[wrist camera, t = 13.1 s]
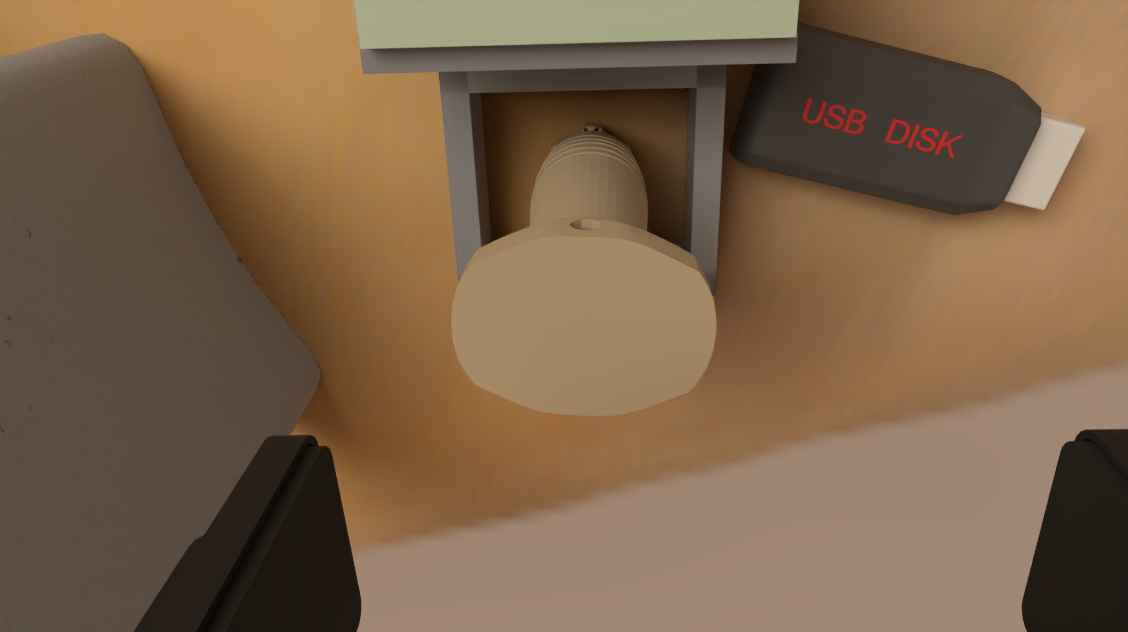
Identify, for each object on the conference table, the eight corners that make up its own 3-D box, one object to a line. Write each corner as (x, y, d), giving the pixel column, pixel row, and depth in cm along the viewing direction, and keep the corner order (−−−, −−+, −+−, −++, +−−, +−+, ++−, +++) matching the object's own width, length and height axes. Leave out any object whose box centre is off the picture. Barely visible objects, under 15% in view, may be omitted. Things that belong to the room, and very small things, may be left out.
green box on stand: (763, -190, 29) (826, -223, 21) (735, 265, 36) (774, 372, 28) (397, -175, 29) (319, -201, 21) (442, 269, 37) (397, 375, 29)
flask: (17, 65, 34) (-1163, 410, 11) (114, 20, 33) (-960, 296, 10) (247, 417, 40) (-195, 1069, 18) (333, 388, 39) (-21, 1036, 17)
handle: (510, 98, 33) (446, 232, 20) (676, 102, 33) (725, 241, 20) (511, 216, 35) (455, 411, 22) (667, 221, 35) (706, 419, 22)
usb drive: (770, 14, 32) (784, 25, 29) (1071, 90, 33) (1109, 107, 30) (727, 148, 34) (736, 168, 32) (1009, 216, 35) (1040, 241, 33)
